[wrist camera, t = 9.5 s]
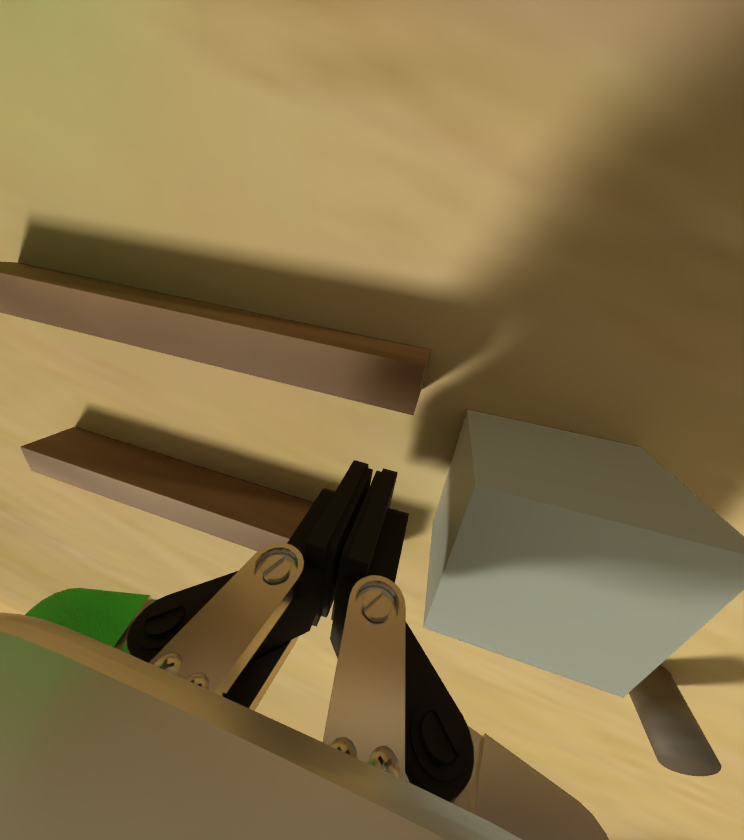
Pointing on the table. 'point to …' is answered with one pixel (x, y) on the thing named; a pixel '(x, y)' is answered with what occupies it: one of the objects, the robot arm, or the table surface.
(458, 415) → the table surface
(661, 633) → the slate block
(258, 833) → the robot arm
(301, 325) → the parallel wooden rails
